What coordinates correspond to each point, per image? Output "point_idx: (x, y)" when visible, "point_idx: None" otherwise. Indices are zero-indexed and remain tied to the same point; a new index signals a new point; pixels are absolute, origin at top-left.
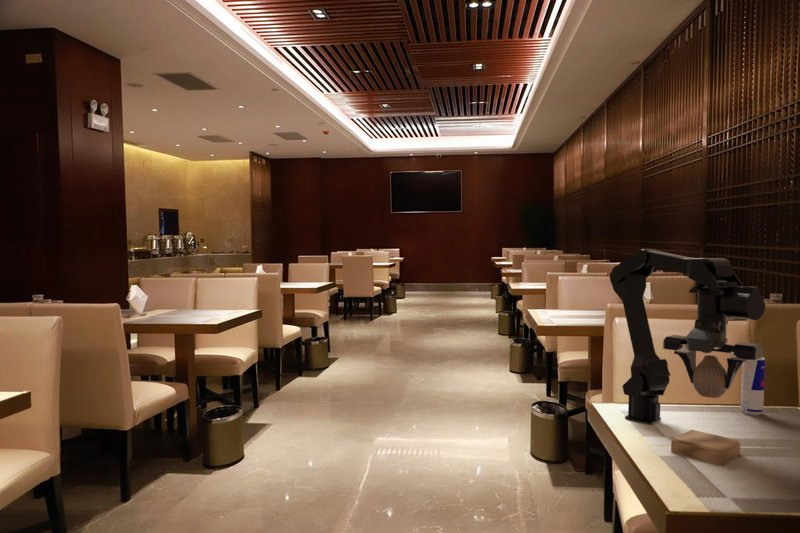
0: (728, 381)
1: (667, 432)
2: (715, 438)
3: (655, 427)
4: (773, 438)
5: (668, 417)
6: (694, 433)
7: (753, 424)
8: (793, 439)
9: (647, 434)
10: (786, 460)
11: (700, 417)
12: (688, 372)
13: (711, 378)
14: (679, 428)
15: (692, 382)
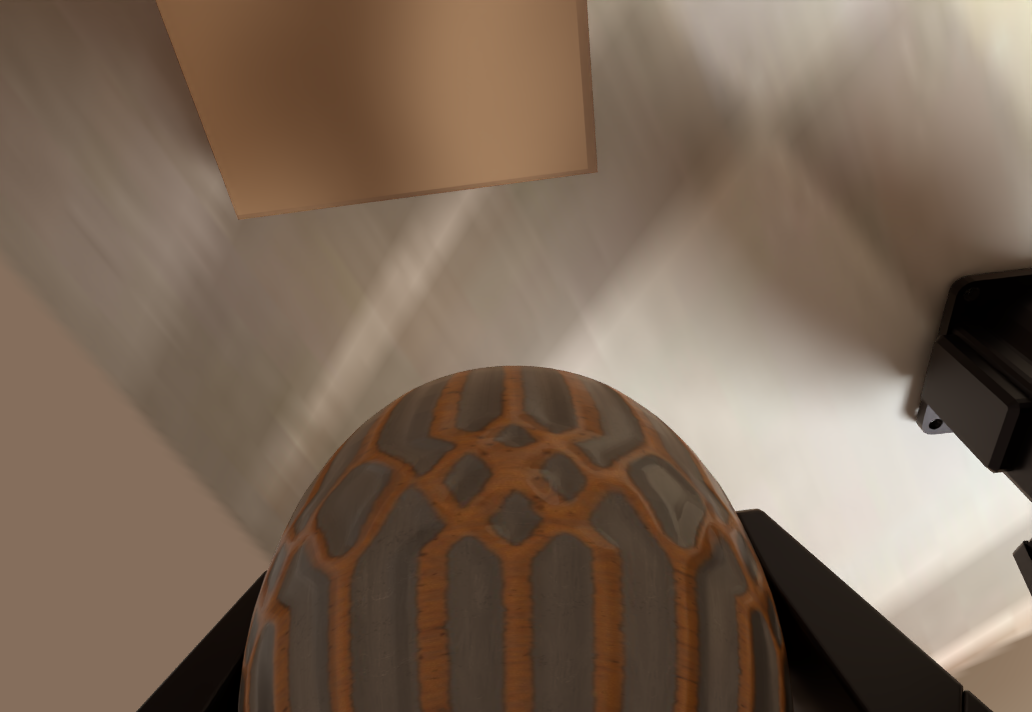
0: (210, 656)
1: (795, 226)
2: (340, 94)
3: (899, 260)
4: None
5: (890, 496)
6: (515, 73)
7: None
8: None
9: (901, 40)
10: (94, 321)
11: None
12: (874, 625)
13: (345, 546)
14: (766, 367)
15: (742, 514)
